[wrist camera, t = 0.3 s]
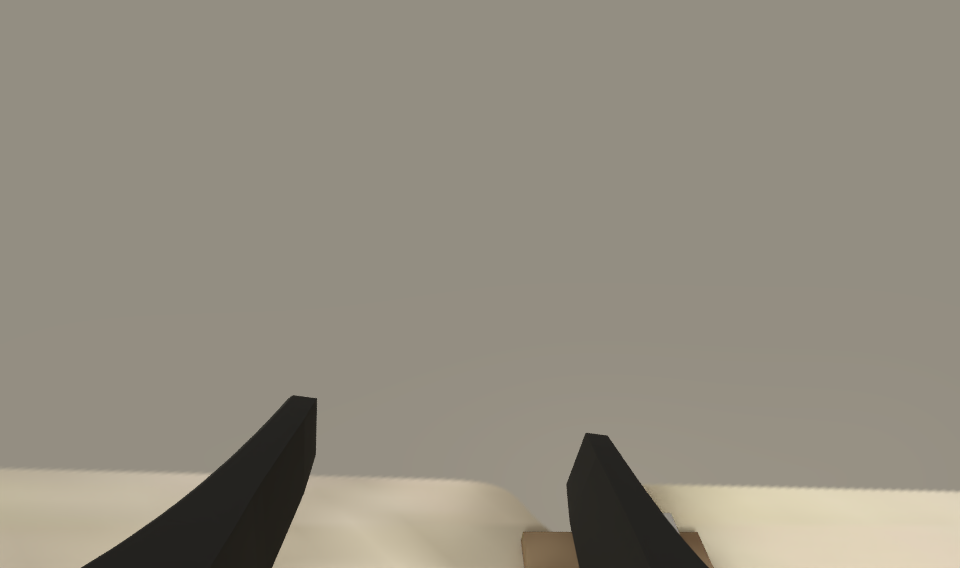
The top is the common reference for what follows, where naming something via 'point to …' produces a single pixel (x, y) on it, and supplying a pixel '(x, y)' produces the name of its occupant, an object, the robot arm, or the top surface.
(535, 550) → the base board
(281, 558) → the top surface
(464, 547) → the top surface
